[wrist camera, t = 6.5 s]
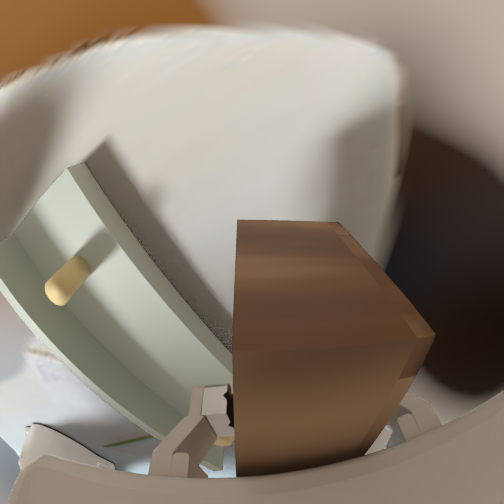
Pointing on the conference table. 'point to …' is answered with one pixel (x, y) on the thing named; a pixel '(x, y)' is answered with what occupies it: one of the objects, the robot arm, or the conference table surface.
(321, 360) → the wooden box
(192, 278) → the conference table surface
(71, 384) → the conference table surface
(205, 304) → the conference table surface
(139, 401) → the ledge
